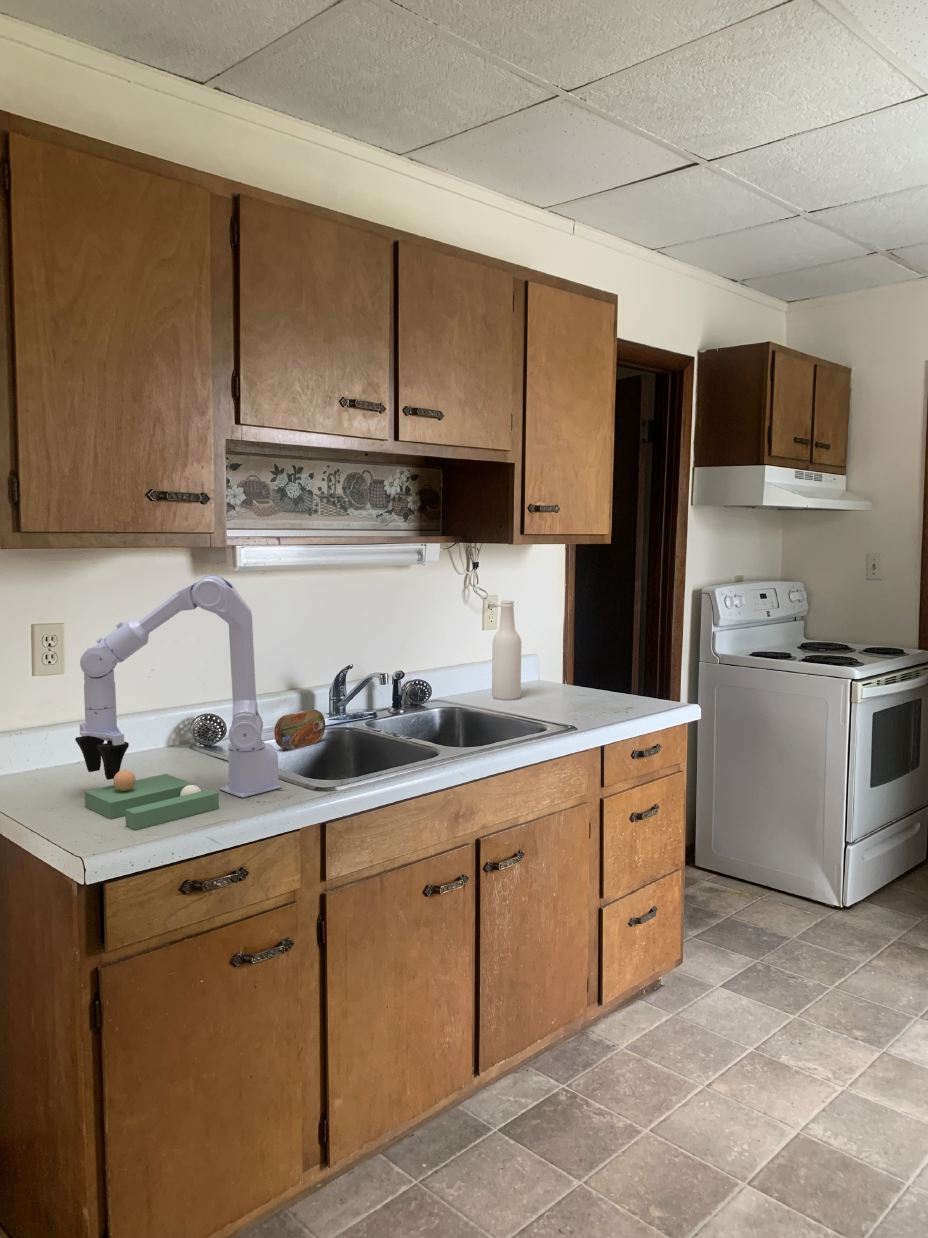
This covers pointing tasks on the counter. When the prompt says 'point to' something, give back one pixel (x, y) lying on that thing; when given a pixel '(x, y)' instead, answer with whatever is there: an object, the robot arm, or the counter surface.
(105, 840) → the counter surface
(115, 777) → the terracotta ball
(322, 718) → the tin
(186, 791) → the ivory ball
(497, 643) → the alcohol
